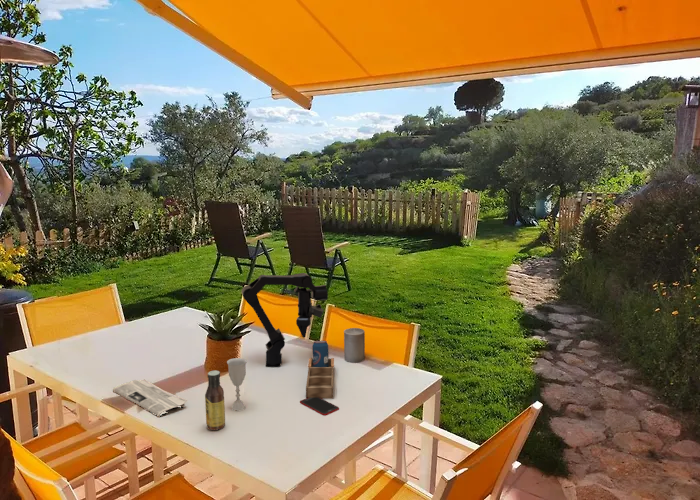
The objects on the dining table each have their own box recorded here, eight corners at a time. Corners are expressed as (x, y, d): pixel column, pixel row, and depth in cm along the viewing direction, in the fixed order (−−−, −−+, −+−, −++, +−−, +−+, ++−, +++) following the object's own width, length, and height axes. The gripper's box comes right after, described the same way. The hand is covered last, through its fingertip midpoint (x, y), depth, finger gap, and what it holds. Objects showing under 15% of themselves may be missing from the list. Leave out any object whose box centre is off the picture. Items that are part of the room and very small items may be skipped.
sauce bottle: (208, 422, 174) (206, 368, 171) (226, 421, 174) (224, 368, 171) (204, 432, 167) (202, 376, 164) (223, 431, 168) (221, 375, 165)
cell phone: (314, 397, 195) (314, 394, 194) (340, 410, 184) (340, 407, 184) (298, 403, 189) (298, 401, 189) (324, 417, 179) (324, 414, 179)
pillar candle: (365, 355, 238) (365, 325, 236) (363, 363, 228) (363, 331, 226) (345, 355, 239) (344, 325, 237) (342, 362, 229) (342, 331, 227)
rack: (305, 398, 192) (305, 386, 191) (309, 368, 222) (309, 357, 221) (333, 398, 193) (333, 386, 192) (333, 368, 222) (333, 357, 222)
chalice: (251, 405, 187) (250, 359, 184) (242, 413, 180) (240, 366, 177) (234, 402, 189) (233, 357, 186) (224, 410, 183) (223, 363, 180)
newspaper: (112, 392, 198) (112, 384, 197) (142, 382, 207) (142, 374, 207) (161, 420, 176) (160, 410, 175) (192, 407, 186) (191, 398, 185)
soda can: (309, 369, 217) (309, 341, 218) (321, 367, 222) (320, 340, 223) (320, 371, 212) (319, 342, 213) (332, 368, 217) (331, 341, 218)
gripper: (321, 306, 217) (321, 340, 220) (323, 296, 236) (323, 327, 238) (296, 306, 217) (296, 340, 219) (299, 296, 235) (299, 327, 238)
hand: (304, 334), depth 229 cm, fingers open, 9 cm apart
